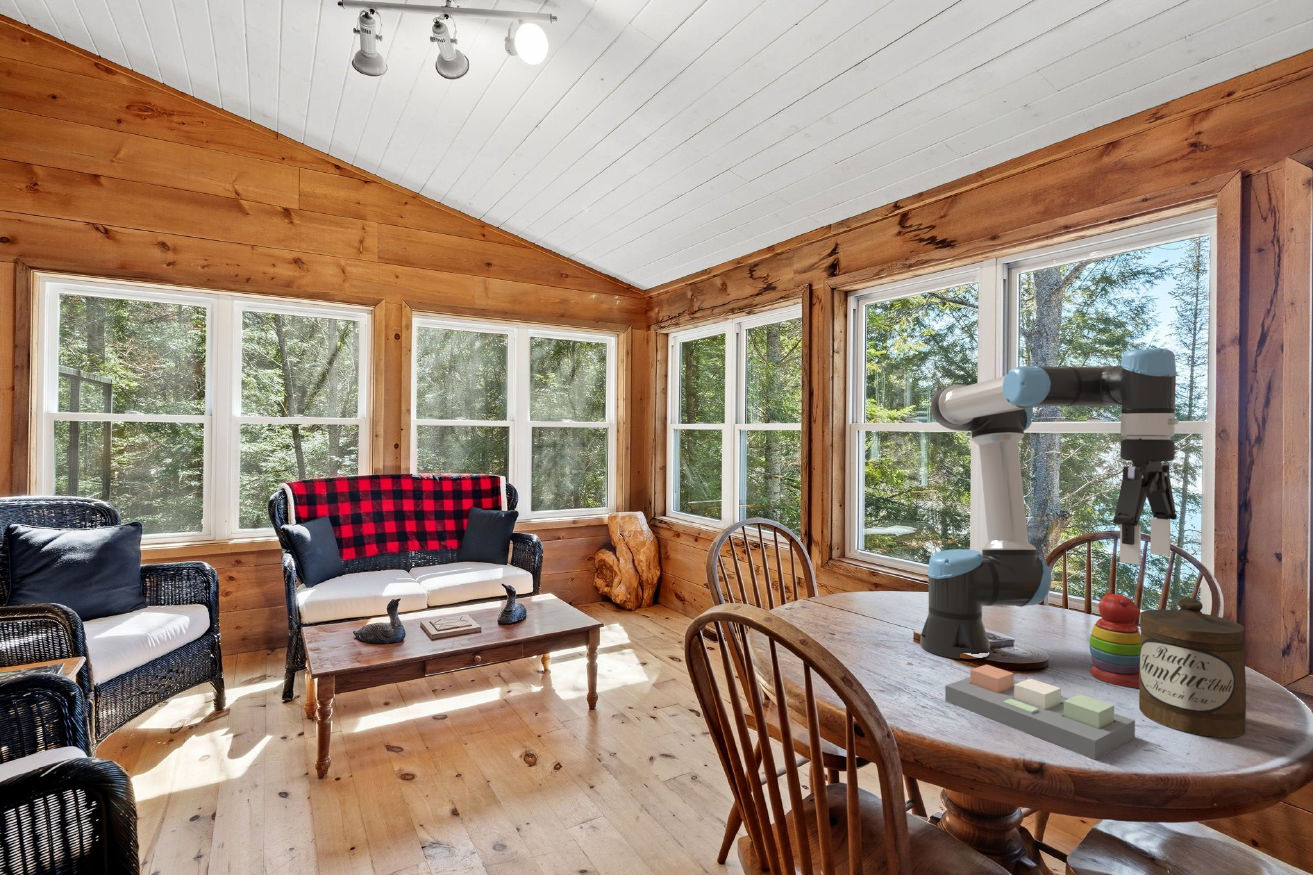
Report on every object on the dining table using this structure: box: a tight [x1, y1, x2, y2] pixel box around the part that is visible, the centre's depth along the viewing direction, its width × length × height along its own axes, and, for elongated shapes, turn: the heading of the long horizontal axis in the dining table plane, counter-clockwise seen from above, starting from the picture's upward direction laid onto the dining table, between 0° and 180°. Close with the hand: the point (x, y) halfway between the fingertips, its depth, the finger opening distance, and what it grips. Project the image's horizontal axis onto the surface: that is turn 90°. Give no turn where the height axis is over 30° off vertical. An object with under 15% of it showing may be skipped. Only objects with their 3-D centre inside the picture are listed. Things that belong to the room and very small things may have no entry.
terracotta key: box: [970, 664, 1015, 693], centre depth 124 cm, size 5×5×3 cm
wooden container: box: [1138, 597, 1247, 739], centre depth 116 cm, size 15×15×22 cm
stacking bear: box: [1089, 591, 1141, 689], centre depth 135 cm, size 11×10×18 cm
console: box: [944, 676, 1136, 760], centre depth 116 cm, size 26×14×3 cm, turn 32°
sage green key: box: [1064, 694, 1115, 729], centre depth 109 cm, size 5×5×3 cm
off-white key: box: [1014, 678, 1062, 710], centre depth 117 cm, size 5×5×3 cm
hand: (1145, 559), depth 112 cm, fingers open, 13 cm apart
